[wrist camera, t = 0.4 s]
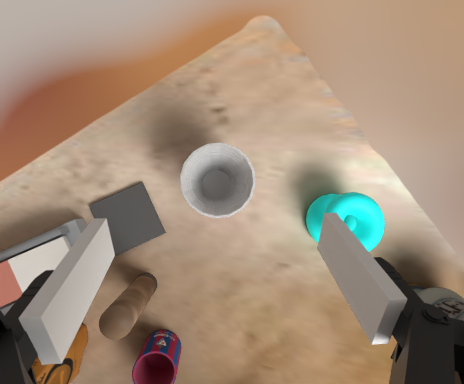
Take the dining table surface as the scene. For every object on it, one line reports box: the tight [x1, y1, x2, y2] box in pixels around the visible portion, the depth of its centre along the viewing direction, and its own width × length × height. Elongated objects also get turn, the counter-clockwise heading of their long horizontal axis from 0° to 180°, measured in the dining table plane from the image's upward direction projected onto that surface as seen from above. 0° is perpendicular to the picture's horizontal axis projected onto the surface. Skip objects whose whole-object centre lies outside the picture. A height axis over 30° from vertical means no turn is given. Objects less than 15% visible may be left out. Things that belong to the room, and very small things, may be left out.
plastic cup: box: [180, 143, 256, 218], centre depth 43 cm, size 11×11×12 cm
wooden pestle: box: [99, 273, 157, 340], centre depth 40 cm, size 4×4×15 cm
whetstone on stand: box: [0, 218, 87, 316], centre depth 43 cm, size 10×20×6 cm, turn 115°
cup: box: [132, 330, 181, 384], centre depth 44 cm, size 7×10×7 cm
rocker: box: [0, 236, 71, 307], centre depth 40 cm, size 16×6×1 cm, turn 115°
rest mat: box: [89, 183, 166, 256], centre depth 47 cm, size 10×10×1 cm
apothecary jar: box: [409, 284, 464, 321], centre depth 42 cm, size 12×12×18 cm
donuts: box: [306, 192, 385, 252], centre depth 46 cm, size 10×10×10 cm
